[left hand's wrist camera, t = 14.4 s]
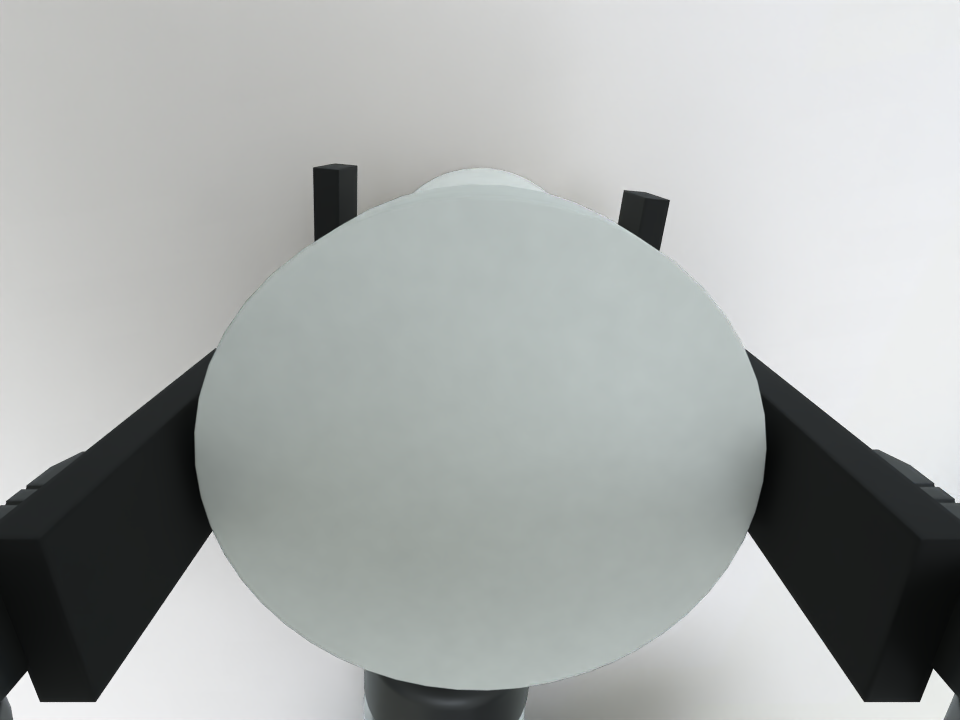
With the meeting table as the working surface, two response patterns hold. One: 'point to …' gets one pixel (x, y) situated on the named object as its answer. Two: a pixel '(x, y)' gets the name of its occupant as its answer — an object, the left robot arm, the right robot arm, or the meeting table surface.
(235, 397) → the lid
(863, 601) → the left robot arm
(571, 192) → the meeting table surface
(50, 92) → the meeting table surface
